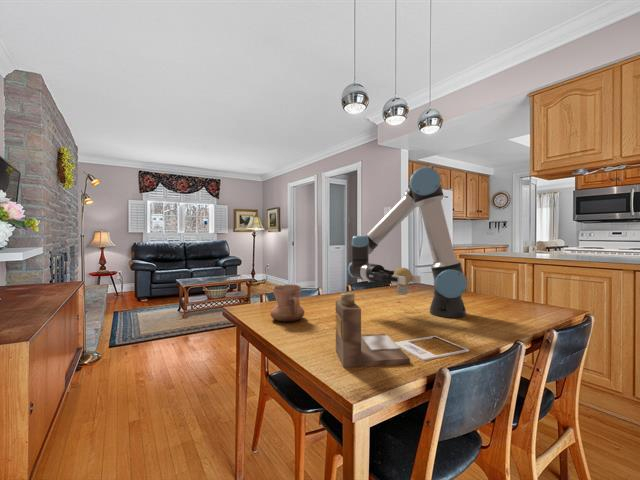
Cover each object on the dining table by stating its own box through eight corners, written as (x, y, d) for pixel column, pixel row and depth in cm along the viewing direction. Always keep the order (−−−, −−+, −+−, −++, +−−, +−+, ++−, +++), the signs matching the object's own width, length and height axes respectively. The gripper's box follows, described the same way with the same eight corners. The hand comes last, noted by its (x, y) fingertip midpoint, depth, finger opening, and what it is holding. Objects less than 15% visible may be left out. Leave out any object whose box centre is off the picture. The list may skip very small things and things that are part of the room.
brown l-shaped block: (384, 337, 110) (384, 283, 109) (409, 363, 88) (410, 296, 88) (330, 340, 107) (329, 285, 107) (342, 367, 86) (342, 298, 85)
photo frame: (392, 342, 103) (434, 335, 111) (392, 345, 104) (434, 338, 111) (423, 358, 90) (469, 349, 97) (423, 362, 90) (469, 352, 97)
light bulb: (415, 294, 116) (415, 267, 116) (403, 296, 112) (403, 268, 112) (401, 292, 121) (401, 266, 121) (390, 294, 117) (390, 267, 117)
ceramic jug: (264, 317, 138) (264, 285, 137) (294, 312, 145) (294, 282, 144) (280, 328, 122) (279, 292, 122) (312, 322, 129) (312, 288, 129)
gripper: (391, 280, 137) (432, 288, 116) (354, 283, 128) (391, 293, 108) (391, 263, 137) (432, 268, 116) (353, 265, 128) (391, 271, 107)
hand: (412, 280), depth 112 cm, fingers closed on light bulb, 6 cm apart
